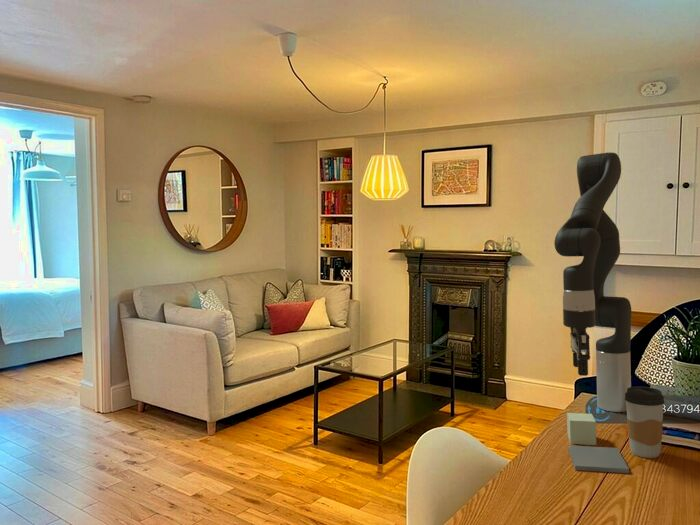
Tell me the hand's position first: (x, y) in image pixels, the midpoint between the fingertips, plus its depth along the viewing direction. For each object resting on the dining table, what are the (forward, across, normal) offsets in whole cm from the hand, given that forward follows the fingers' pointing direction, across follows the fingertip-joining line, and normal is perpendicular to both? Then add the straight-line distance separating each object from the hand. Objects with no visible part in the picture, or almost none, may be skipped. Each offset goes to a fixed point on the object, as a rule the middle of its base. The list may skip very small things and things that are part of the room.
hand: (580, 370), depth 140 cm
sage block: (+18, 0, 0) cm, 18 cm away
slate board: (+18, +13, +1) cm, 22 cm away
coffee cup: (+18, +7, +13) cm, 23 cm away
